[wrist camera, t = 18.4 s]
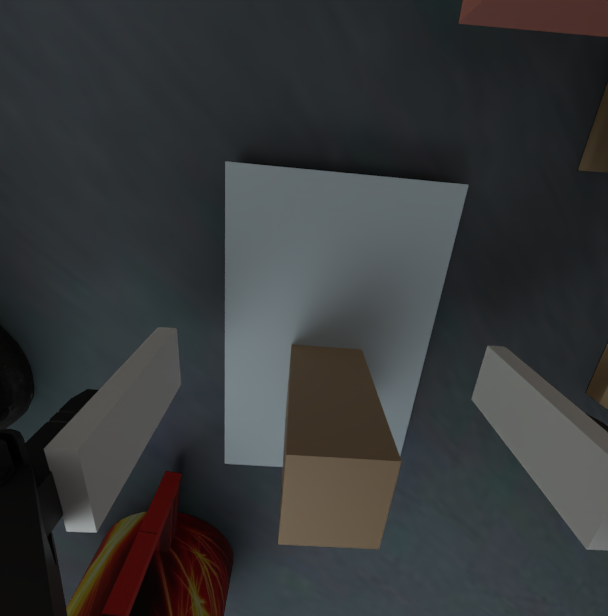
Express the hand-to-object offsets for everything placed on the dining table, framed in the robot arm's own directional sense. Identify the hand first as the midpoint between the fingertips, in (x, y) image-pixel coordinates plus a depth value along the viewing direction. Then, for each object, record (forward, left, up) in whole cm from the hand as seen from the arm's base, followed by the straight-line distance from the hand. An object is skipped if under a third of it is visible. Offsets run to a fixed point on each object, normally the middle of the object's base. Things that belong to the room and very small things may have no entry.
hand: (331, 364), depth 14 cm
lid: (0, 0, -3) cm, 4 cm away
